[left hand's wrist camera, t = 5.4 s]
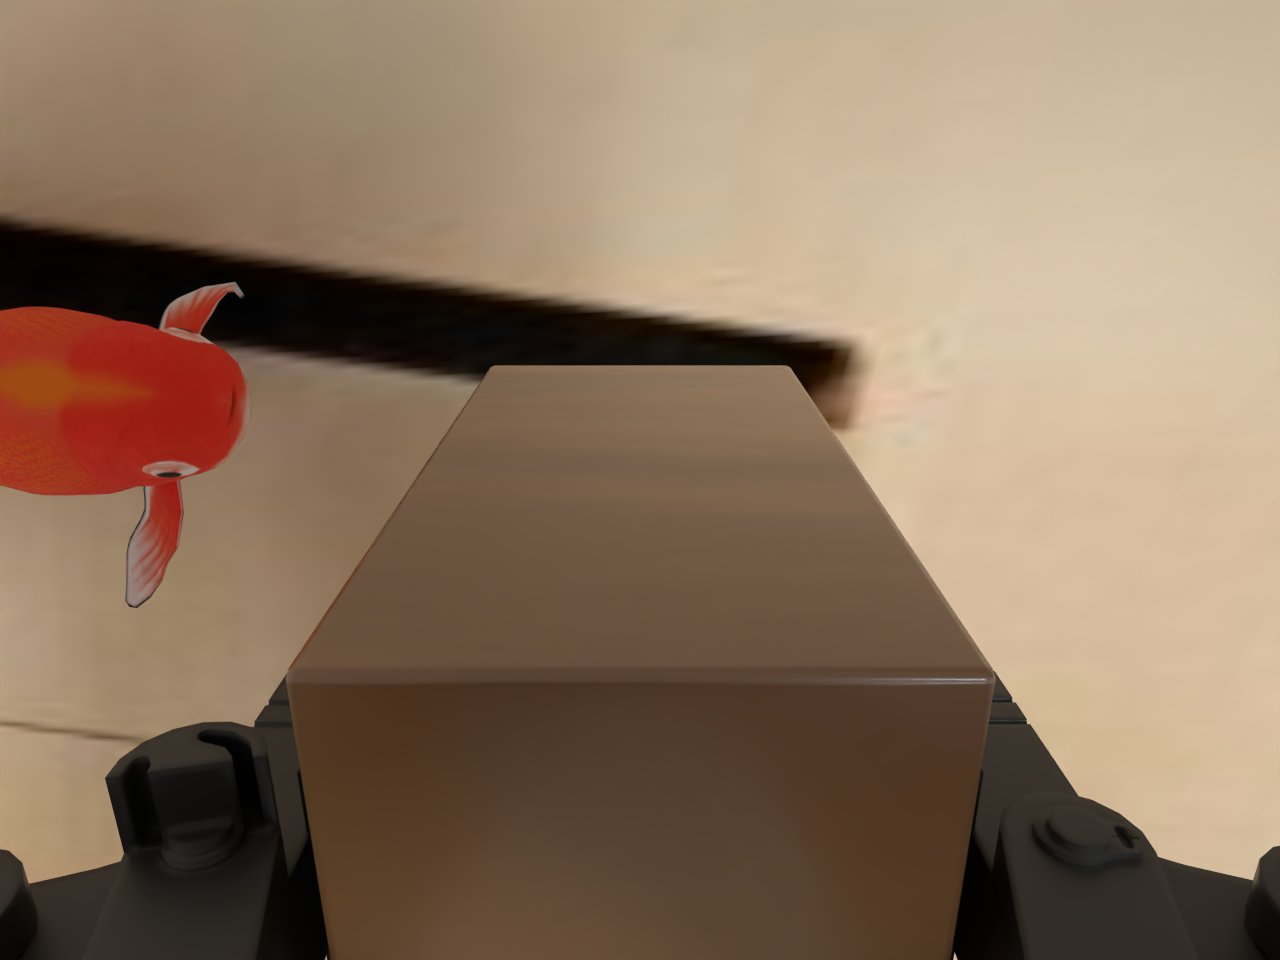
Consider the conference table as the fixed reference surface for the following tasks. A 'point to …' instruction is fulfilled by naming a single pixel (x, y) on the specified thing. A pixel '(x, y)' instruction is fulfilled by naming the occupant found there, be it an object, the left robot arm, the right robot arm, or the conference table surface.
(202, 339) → the fish
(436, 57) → the conference table surface
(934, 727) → the bar
